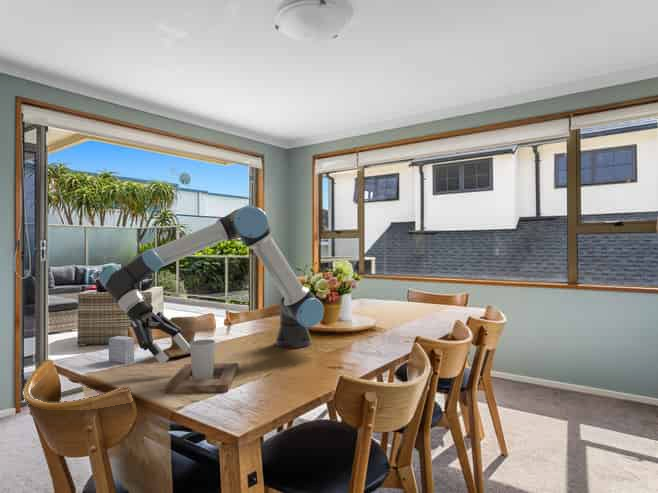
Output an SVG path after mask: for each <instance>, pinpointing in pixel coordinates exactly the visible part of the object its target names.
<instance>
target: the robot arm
mask: <svg viewBox="0 0 658 493" xmlns="http://www.w3.org/2000/svg"><path fill="white" fill-rule="evenodd" d="M272 235H273V230H272V228H271V226H270V225H269V218H268V216H267V214H266V212H265V211H264V210H262V208H260V207H257V206H253V205H246V206H243V207H241V208H236V209H235V210H233V211H232V212H230V213H228V214H227V215H225V216H222V217H220V218H218V219H217V220H216V221H215V223H212V224H211V225H208V226H206V227H203V228H201V229H198V230H196V231H193V232H191V233H188V234H186V235H183V236H181V237H179V238H176V239H174V240H171V241H169V242H167V243H164V244H162V245H160V246H157V247H155V248H148V249H147V250H146V251H143V252H142V253H139V254H137V255H135V256H133V258H132V260H131V261H130V262H128V263H127V264H125V265H124V266H123V267H121V266H119V265H111V266H110V267H107V268H106V269H104V270H103V271H102V272H101V273H100V274H99V276H98V280H99V282H100V284H101V285H102V287H103V288H104V290H105V291H106V292H107V293H108V294H109V295H110V296H111V297H112V299H113V300H114V301H115V303H117V304H118V305H119V307H120V308H121V310H122V311H123V312H124V313H126V316H127V317H128V318H129V319H130V321H131V323H130V324H129V325H130V326H131V328H132V330H133V332H134V334H135V337H136V340H137V343H138V346H139V348H140V349H142V350H144V351H147V350H148V351H149V352H150V353H151V354H152V356H153V357H154V358H156V360H157V361H158V362H159V363H160V365H164V364H165V363H166V362H167V361H168V360H169V359H170V358H168V357H167V356H166V354H165V353H164V352H163V350H162V348H161V347H160V346H159V345H158V344H157V343H156V342H154V340H153V339H154V338H153V331H152V330H159V331H162V332H163V333H165V334H168V335H169V336H170V337H171V336H173V339H174V341H175V342H176V343H177V344H178V345H179V347H180V348H181V349H182V350H183V351H184V353H185V352H186V351H188V350H189V349H190V345H189V344H188V343H187V342H186V340H185V339H184V338H183V337H182V336H181V334H180V333H179V332H180V331H181V328H180V327H179V326H177V325H176V324H174V323H173V322H172V321H170V319H169V318H167V317H166V316H164V314H163V313H162V312H160V311H158V312H157V313H156V314H155V313H154V312H153V310H154V306H153V305H152V304H151V303H150V302H149V301H148V299H146V297H145V296H144V294H143V293H142V292H141V291H140V290H139V289H138V288H137V285H139V284H140V283H142V282H144V280H146V279H148V278H149V277H151V275H153V274H155V273H156V272H158V271H159V270H160V269H161V268H163V267H165V266H168V265H170V264H172V263H174V262H177V261H180V260H181V259H185V258H186V257H189V256H191V255H194V254H196V253H198V252H201V251H203V250H205V249H208V248H210V247H212V246H215V245H218V244H219V243H222V242H225V243H227V242H231V241H233V240H236V239H237V240H238V239H240V240H241V241H242V243H243V244H244V246H245V247H246V248H248V249H252V251H253V253H255V255H256V257H257V258H258V259H259V262H260V263H261V264H262V266H263V267H264V269H265V270H266V272H267V273H268V275H269V276H270V278H271V279H272V281H273V282H274V284H275V286H276V287H277V288H278V290H279V291H280V298H279V306H280V307H279V310H280V311H279V312H280V313H279V320H280V321H279V322H280V323H279V329H278V332H277V334H276V338H275V345H276V346H277V347H281V348H287V349H298V348H305V347H308V346H310V345H311V344H312V337H311V334H310V331H309V328H312V327H315V326H317V325H319V324H320V322H321V321H322V320H323V319H324V315H325V307H324V305H323V303H322V302H321V300H320V299H318V298H316V296H314V294H313V293H312V291H311V289H310V288H309V286H303V284H302V282H301V281H300V279H299V278H298V276H297V275H296V273H295V272H294V270H293V268H292V267H291V266H290V263H289V262H288V260H287V259H286V257H285V256H284V254H283V253H282V251H281V250H280V248H279V246H278V245H277V243H276V242H275V240H274V239H273V237H272Z"/></svg>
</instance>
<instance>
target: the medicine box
mask: <svg viewBox="0 0 658 493" xmlns="http://www.w3.org/2000/svg"><path fill="white" fill-rule="evenodd" d="M134 361H135V337H131V336H121V335H117V336H112V337H110V338H108V362H111V363H120V364H128V363H131V362H134Z"/></svg>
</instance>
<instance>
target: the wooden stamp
mask: <svg viewBox="0 0 658 493" xmlns="http://www.w3.org/2000/svg"><path fill="white" fill-rule="evenodd" d="M169 320H170V321H172V322H173V323H174V324H176V325H177V326H179V327H180V328H181V331H180V332H179V333H180V334H181V336H182V337H183V338H184V339H185V340H186V342H187V343H188V344H189V343H190V342H192V341H195V335H196V332H197V325H198V324H197V318H196V317H195V316H175V317H170V319H169ZM170 337H171V338H170V339H171V345H170V346H169V347H167V348H164V349H163V350H162V351H163V352H164V353H165V354H166V356H167V357H168V358H169V359H170V358H171V359H172V358H177V357H183V356H186V355H191V354H190V349H189V350H188V351H186V352H185V353H184V351H183V350H182V349H181V348H180V347H179V345H178V344H177V343H176V342H175V341H174V339H173V336H171V335H170ZM189 345H190V344H189Z"/></svg>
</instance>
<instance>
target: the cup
mask: <svg viewBox="0 0 658 493" xmlns="http://www.w3.org/2000/svg"><path fill="white" fill-rule="evenodd" d="M216 342H217V341H216V339H215V340H214V339H196V340H194V341H192V342H190V343H189V344H190V354H189V355H190V364H191V365H192V375H191V376H192V380H193V379H214V374H213V371H214V363H215V354H216V353H215V351H216Z"/></svg>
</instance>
